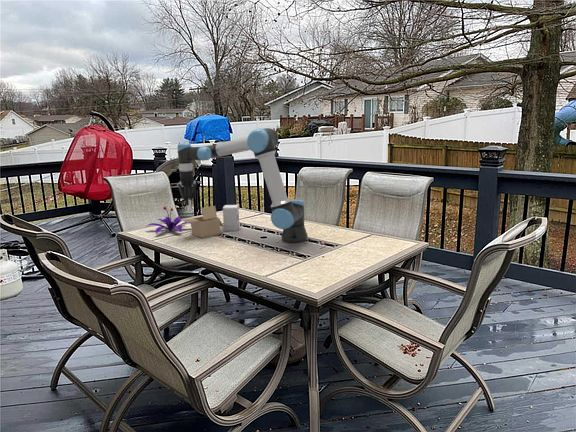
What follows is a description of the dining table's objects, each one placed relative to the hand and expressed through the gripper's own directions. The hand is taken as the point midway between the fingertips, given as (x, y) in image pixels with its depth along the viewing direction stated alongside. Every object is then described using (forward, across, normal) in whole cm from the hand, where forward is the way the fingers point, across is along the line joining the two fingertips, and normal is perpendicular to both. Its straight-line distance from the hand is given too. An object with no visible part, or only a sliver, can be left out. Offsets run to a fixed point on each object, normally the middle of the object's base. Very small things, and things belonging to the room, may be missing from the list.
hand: (189, 210), depth 248 cm
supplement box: (+17, -27, +2) cm, 32 cm away
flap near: (+6, -9, +8) cm, 13 cm away
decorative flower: (+16, +2, -23) cm, 28 cm away
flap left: (+6, -3, +1) cm, 7 cm away
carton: (+16, -11, -1) cm, 20 cm away
